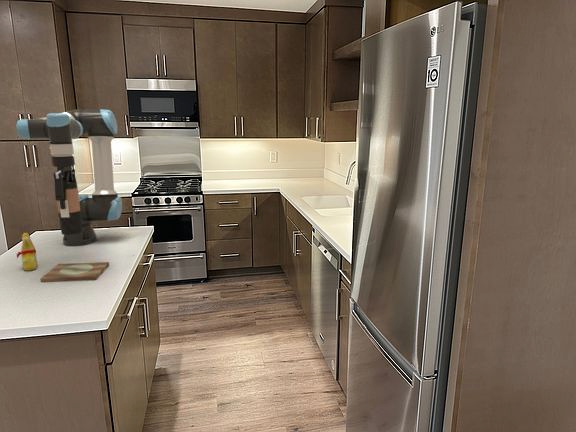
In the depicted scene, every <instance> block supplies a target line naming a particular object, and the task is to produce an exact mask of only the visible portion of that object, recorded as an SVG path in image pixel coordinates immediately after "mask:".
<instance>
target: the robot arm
mask: <svg viewBox="0 0 576 432" xmlns="http://www.w3.org/2000/svg"><path fill="white" fill-rule="evenodd" d="M15 128H16V133H17V135H18V137H19V138H21V139H23V140H24V139H25V140H41V139H42V140H45V139H46V140H47V139H48V140H49V147H48V149H49V150H50V155H52V157H51V164H52V167H54V168H57V169H56V172H53V179H54V193H55V194H54V195H55V196H54V197H55V201H56V202H57V201H59V204H60V212H61V217H69V209H68V201H67V200H66V185H65V184H64V185H63V183H68V182H70V183H72V182H73V181H77V177H76V170H75V168H72V167H74V166H75V165H76V164H75V163H76V162H75V156H74V153H75V152H74V145H73V139H74V140H75V139H77V138H79V137H80V138H81V136H82V135H87V139H89V140H90V141H91V149H92V150H91V151H92V162H93V163H92V164H93V177H94V192H92V194H91V197H89V195H88V194H80V193H78V195H79V203H80V212H81V224H82V232H81V233H78V234H72V235H63V238H62V242H63V243H62V244H63V245H64V246H68V247H74V246H75V247H76V246H85V245H90V244H93V243H95V242H96V241H98V237H97V236H98V235H97V234H96V232H95V230H94V228H93V225H92V222H102V221H103V222H104V221H107V222H109V221H110V222H111V221H118V219H120V217H121V214H122V212H123V201H122V197H120V196H119V195H118V192H117V191H116V190H115V187H114V186H115V185H114V170H113V154H112V150H113V149H112V141H113V140H114V139H115V135H117V134H118V123H117V119H116V116H115V114H114V113H113V111H112V110H110V109H97V108H96V109H91V108H90V109H81V108H80V109H72V110H69V111H63V112H59V113H58V112H57V113H56V112H55V113H51V112H50V113H48V114H46V117H45V116H44V117H39V118H31V119H30V118H28V119H27V118H24V119H23V118H22V119H18V120H17V122H16V125H15ZM77 188H78V186H77ZM78 189H79V188H78Z"/></svg>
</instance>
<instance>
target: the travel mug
mask: <svg viewBox="0 0 576 432" xmlns="http://www.w3.org/2000/svg"><path fill="white" fill-rule="evenodd" d="M64 184H65V185H66V200H67V201H68V209H69V217H61V212H60V204H59V201H56V205H57V214H58V218H59V220H58V221H59V225H60V231H61V232H60V233H61V235H63V236H64V235H72V234H78V233H81V232H82V224H81V212H80V203H79V195H80V194H79V188H77V187H78V182H77V180H76V181H73V182H72V183H70V182H68V183H63V185H64ZM78 194H79V195H78Z"/></svg>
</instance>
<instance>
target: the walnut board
mask: <svg viewBox="0 0 576 432" xmlns="http://www.w3.org/2000/svg"><path fill="white" fill-rule="evenodd" d="M109 266H110V262H109V261H104V262H103V261H100V262H99V261H98V262H78V263H77V262H75V263H70V262H69V263H58V264H57V265H55V266H54V267H53V268H52V269H51V270H49V271H47V273H45V274H44V275H43V276H42V277H40V283H53V282H54V283H55V282H56V283H57V282H58V283H59V282H76V281H80V282H82V281H96V280H98V279H99V277H101V275H102V274H103V273H104V272H105V271H106V270H107V268H108V267H109Z"/></svg>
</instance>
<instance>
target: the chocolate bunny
mask: <svg viewBox="0 0 576 432" xmlns="http://www.w3.org/2000/svg"><path fill="white" fill-rule="evenodd" d="M21 241H22V245H21V251H17V253H16V258H19V257H20V256H21V261H22V266H23V267H22V268H23V270H24V271H26V272H27V271H28V272H31V271H34V270H36V267H37V264H38V261H37V260H38V259H37V249H36V248H35V247H36V246H35V245H34V242H33V241H32V240H31V236H30V235H29V233H28V232H24V233H23V234H22V237H21Z"/></svg>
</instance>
